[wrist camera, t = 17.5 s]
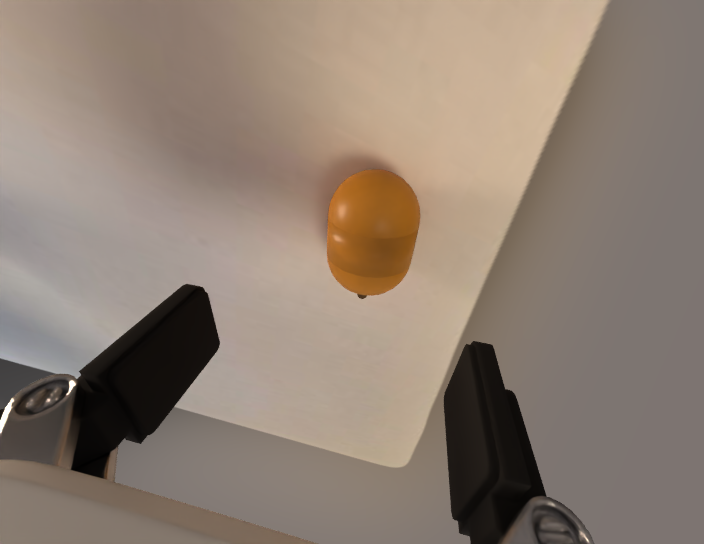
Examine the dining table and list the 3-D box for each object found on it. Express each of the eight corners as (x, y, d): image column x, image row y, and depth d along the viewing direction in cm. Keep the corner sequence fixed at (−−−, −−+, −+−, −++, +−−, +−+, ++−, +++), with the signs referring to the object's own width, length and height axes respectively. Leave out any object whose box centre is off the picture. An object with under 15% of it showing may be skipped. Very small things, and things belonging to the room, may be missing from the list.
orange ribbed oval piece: (342, 154, 18) (316, 177, 13) (429, 165, 17) (430, 193, 13) (336, 261, 22) (315, 304, 18) (405, 274, 21) (400, 322, 17)
